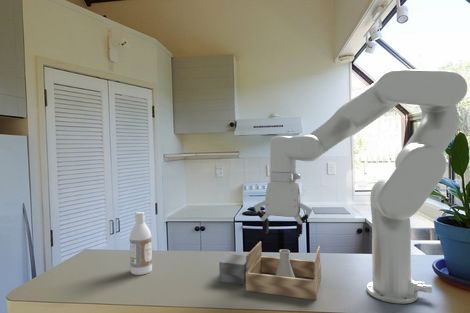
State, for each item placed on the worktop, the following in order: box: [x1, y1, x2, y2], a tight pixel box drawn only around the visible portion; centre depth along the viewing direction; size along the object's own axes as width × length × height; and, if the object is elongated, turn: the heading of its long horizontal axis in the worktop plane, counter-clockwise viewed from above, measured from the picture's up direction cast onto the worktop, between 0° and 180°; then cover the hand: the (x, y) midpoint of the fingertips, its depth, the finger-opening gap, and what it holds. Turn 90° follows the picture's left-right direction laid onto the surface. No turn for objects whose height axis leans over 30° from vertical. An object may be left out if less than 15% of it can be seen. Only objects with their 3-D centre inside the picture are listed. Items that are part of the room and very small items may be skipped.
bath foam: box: [129, 211, 153, 276], centre depth 109 cm, size 7×7×20 cm
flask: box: [274, 248, 296, 278], centre depth 96 cm, size 7×7×10 cm
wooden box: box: [245, 240, 322, 301], centre depth 96 cm, size 20×16×10 cm
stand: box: [218, 253, 246, 286], centre depth 102 cm, size 8×8×6 cm
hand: (282, 234), depth 96 cm, fingers open, 9 cm apart
